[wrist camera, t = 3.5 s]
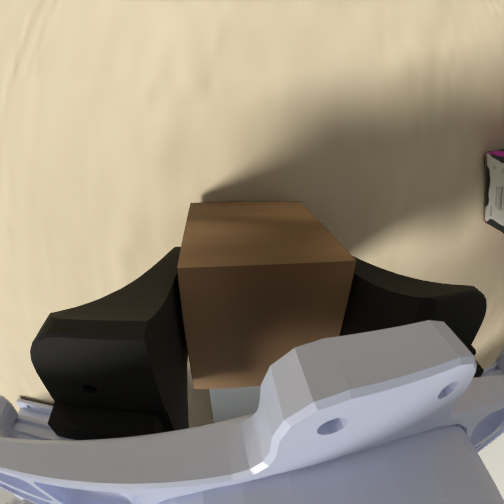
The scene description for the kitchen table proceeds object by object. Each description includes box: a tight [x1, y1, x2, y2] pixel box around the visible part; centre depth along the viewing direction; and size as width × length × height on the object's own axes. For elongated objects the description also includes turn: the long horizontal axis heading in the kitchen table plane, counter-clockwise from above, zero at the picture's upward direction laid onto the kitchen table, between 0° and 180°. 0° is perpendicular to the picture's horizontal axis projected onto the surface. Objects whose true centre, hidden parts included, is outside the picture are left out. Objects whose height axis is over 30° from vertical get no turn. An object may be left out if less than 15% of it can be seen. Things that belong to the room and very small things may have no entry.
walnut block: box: [177, 201, 356, 389], centre depth 11 cm, size 4×4×6 cm
